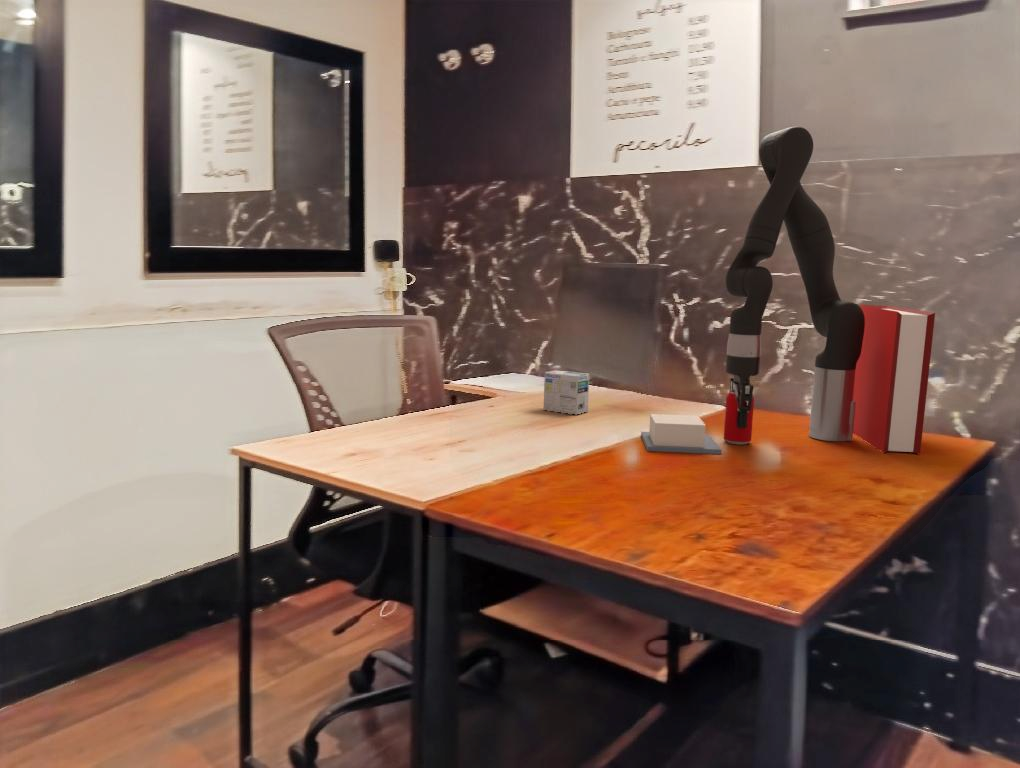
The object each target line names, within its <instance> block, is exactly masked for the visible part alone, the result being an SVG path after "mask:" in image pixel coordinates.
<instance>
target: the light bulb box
mask: <svg viewBox="0 0 1020 768" xmlns="http://www.w3.org/2000/svg"><path fill="white" fill-rule="evenodd" d="M543 382H544V387H543V411H544V410H547V411H546V412H550V411H554V412H553V413H557V412H561V414H565V413H568V414H567V415H572V414H575V415H574V416H578V415H577V414H579V415H581V413H582V414H585V413H584V412H586V413H589V396H590V395H589V393H590V392H589V391H590V389H589V388H590V386H589V385H590V373H583V372H575V371H565V370H564V371H562V370H556V369H555V370H550V371H546V372H544V381H543Z"/></svg>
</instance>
